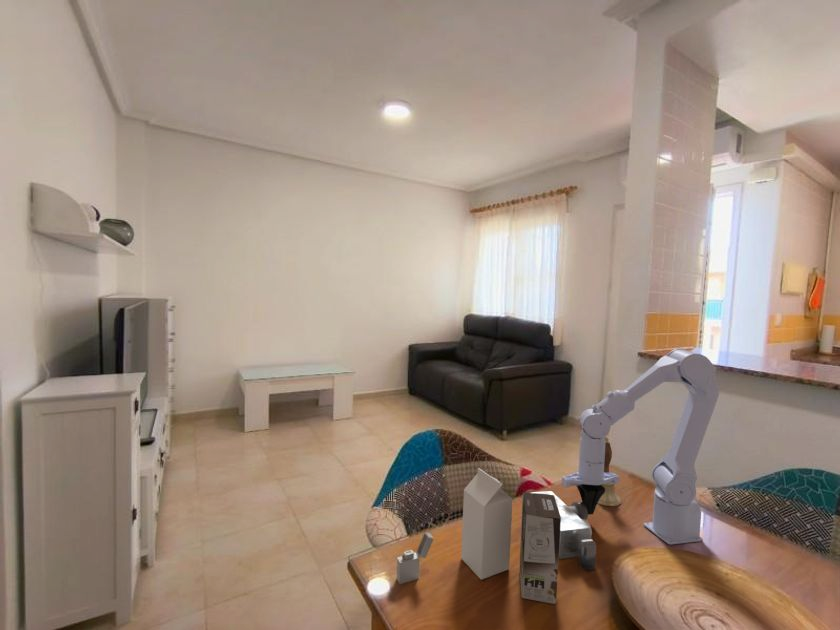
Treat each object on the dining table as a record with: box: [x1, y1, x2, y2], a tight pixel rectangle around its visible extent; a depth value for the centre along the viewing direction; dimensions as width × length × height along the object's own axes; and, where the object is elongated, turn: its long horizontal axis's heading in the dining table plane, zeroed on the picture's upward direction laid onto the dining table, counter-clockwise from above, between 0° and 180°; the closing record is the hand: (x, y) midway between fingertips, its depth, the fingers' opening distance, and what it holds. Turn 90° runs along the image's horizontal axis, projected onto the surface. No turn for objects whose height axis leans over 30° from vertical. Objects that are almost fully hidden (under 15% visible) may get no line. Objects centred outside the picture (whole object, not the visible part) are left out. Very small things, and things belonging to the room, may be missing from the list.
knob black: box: [568, 501, 589, 520], centre depth 98 cm, size 8×4×4 cm, turn 102°
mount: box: [531, 490, 591, 560], centre depth 93 cm, size 7×16×6 cm, turn 12°
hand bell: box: [597, 441, 622, 507], centre depth 110 cm, size 8×8×16 cm
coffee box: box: [519, 491, 561, 605], centre depth 77 cm, size 9×6×16 cm
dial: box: [578, 538, 597, 572], centre depth 82 cm, size 3×3×6 cm
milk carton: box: [460, 467, 513, 580], centre depth 82 cm, size 7×7×19 cm
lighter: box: [396, 531, 434, 585], centre depth 78 cm, size 7×2×8 cm, turn 115°
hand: (588, 512), depth 99 cm, fingers closed
